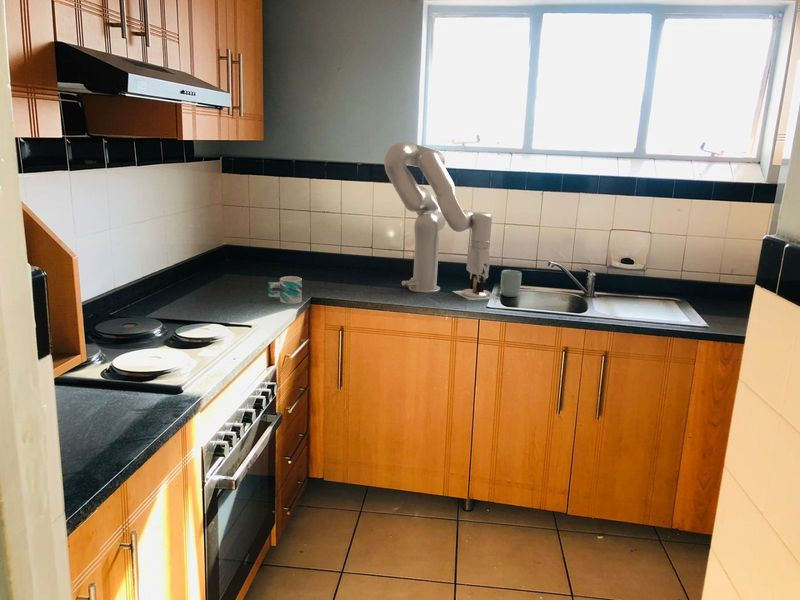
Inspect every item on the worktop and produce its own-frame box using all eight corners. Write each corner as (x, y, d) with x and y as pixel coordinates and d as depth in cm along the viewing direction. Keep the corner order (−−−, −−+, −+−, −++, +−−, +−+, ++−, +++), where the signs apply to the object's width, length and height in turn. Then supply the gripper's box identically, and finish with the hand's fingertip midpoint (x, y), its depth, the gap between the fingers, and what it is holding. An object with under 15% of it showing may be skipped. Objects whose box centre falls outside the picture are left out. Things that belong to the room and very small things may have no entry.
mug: (301, 303, 238) (301, 281, 236) (267, 303, 237) (267, 280, 235) (301, 297, 246) (302, 276, 244) (269, 297, 245) (268, 275, 242)
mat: (469, 301, 252) (469, 299, 252) (452, 292, 265) (452, 291, 264) (500, 299, 258) (500, 297, 258) (482, 290, 270) (482, 289, 270)
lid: (471, 298, 254) (472, 281, 252) (457, 291, 264) (458, 274, 262) (495, 297, 258) (497, 279, 257) (481, 290, 268) (482, 273, 266)
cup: (520, 299, 259) (523, 274, 256) (501, 298, 259) (503, 273, 257) (517, 294, 267) (520, 270, 264) (498, 293, 267) (500, 269, 264)
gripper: (461, 241, 262) (458, 286, 267) (482, 249, 247) (479, 296, 252) (477, 240, 265) (474, 285, 270) (499, 248, 250) (495, 295, 255)
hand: (476, 290), depth 261 cm, fingers open, 4 cm apart
